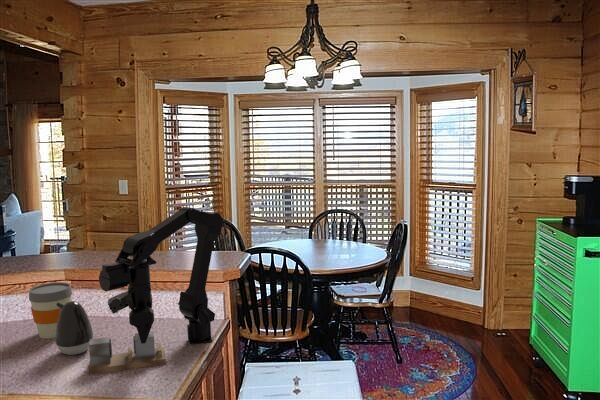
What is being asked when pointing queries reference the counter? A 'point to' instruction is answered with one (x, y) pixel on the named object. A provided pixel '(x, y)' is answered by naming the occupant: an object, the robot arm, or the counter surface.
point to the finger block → (144, 347)
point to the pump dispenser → (73, 329)
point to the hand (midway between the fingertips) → (143, 337)
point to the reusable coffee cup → (48, 306)
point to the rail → (118, 358)
